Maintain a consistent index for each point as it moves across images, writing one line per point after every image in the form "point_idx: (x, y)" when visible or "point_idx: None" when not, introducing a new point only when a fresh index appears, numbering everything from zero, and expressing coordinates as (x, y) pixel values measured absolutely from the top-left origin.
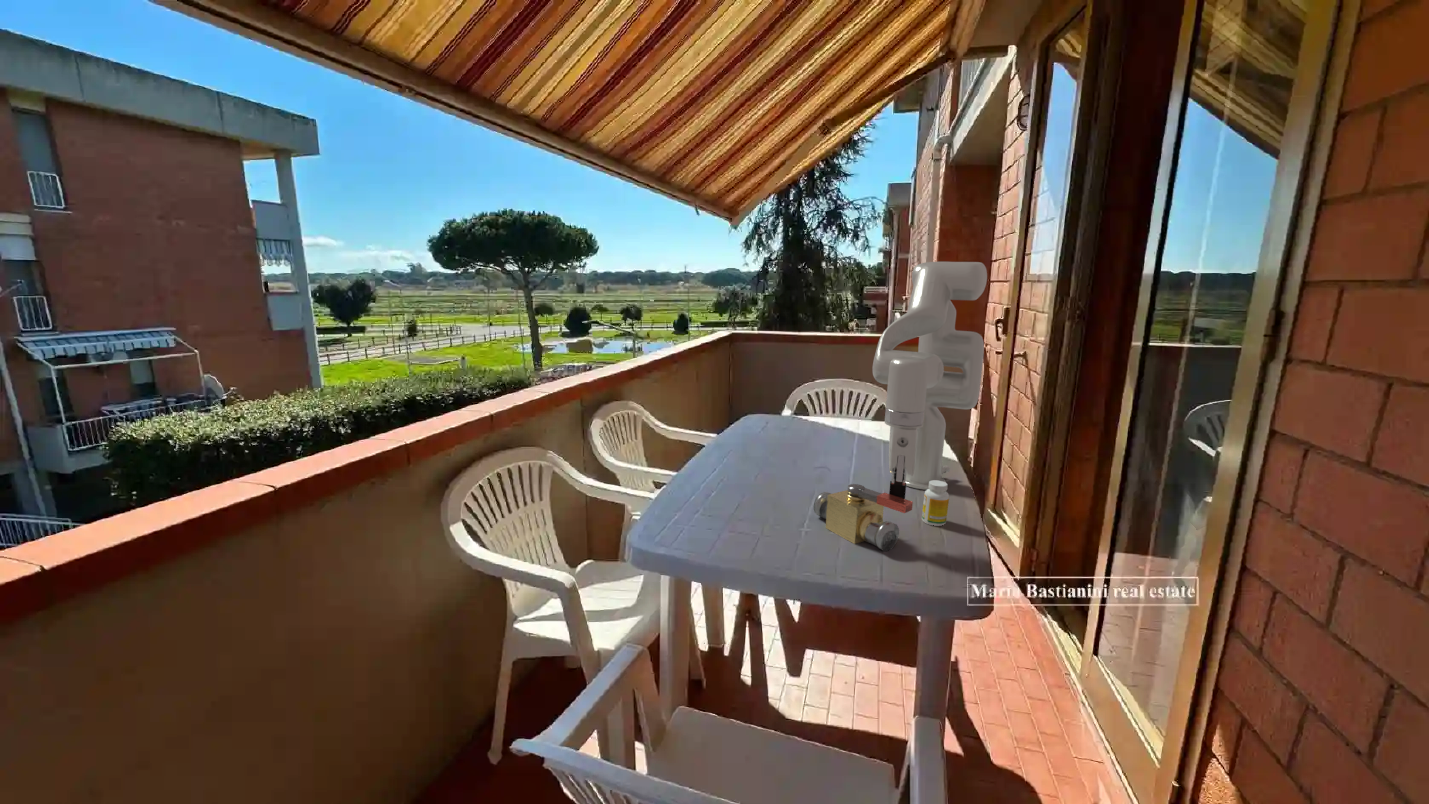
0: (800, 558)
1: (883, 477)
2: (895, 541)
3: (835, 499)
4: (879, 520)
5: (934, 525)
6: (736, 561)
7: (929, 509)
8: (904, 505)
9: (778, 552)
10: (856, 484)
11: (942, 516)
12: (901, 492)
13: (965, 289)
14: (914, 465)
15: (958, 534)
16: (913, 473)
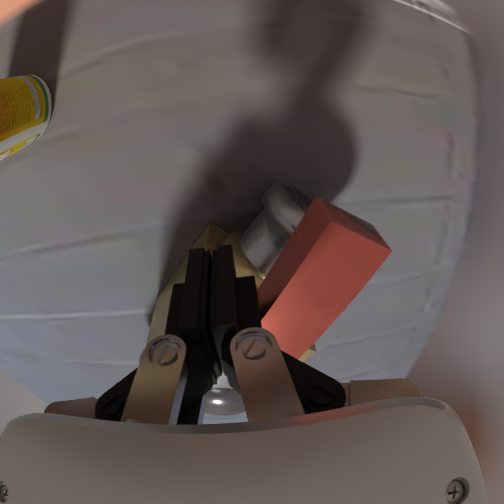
0: (381, 329)
1: None
2: (282, 185)
3: None
4: (244, 265)
5: (50, 97)
6: (395, 372)
7: (21, 129)
8: (386, 253)
9: (365, 354)
10: None
11: (25, 83)
12: (257, 302)
13: None
14: (443, 495)
15: (77, 21)
16: (450, 414)
